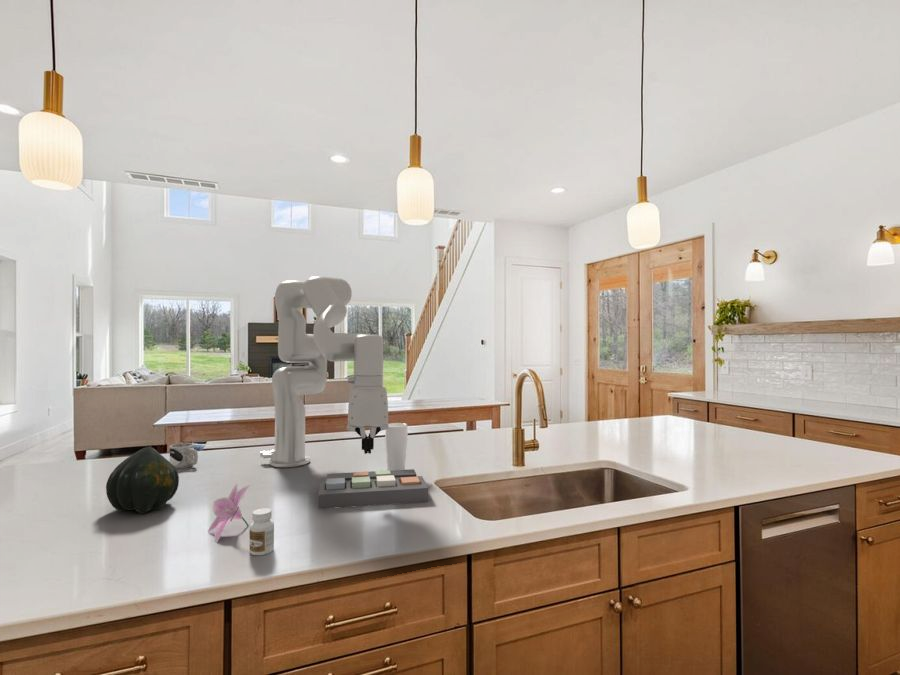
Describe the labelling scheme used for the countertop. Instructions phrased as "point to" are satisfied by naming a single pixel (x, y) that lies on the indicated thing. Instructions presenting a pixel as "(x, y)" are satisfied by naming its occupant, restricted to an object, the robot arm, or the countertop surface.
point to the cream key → (385, 481)
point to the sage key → (360, 482)
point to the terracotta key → (409, 480)
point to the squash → (142, 482)
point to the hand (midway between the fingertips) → (367, 452)
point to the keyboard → (372, 490)
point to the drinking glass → (396, 445)
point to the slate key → (335, 483)
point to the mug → (183, 455)
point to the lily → (227, 510)
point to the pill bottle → (261, 532)
